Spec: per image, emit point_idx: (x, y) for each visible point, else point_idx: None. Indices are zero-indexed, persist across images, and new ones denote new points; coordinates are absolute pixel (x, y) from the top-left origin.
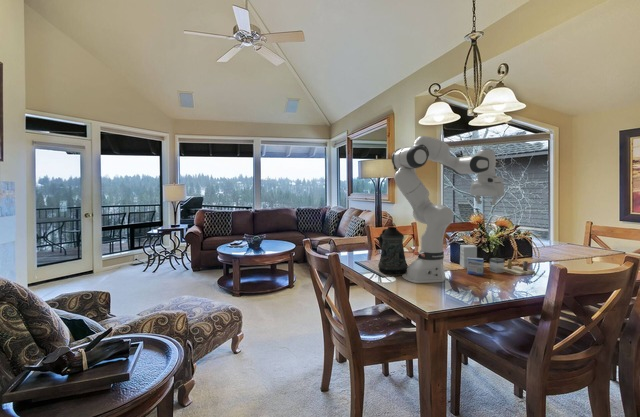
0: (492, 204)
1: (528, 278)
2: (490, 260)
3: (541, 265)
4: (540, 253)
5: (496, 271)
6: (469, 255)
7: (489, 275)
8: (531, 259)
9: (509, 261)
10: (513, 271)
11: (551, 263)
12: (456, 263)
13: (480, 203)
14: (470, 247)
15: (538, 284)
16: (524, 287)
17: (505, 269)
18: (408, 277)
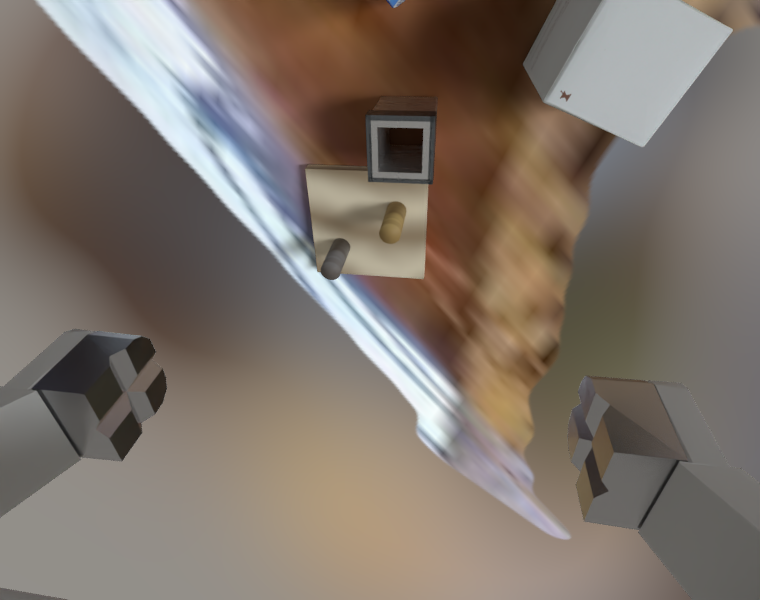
0: (72, 331)
1: (256, 168)
2: (425, 112)
3: (410, 386)
4: (546, 519)
5: (383, 98)
6: (568, 20)
7: (357, 3)
8: (499, 433)
9: (384, 222)
10: (341, 178)
11: (417, 432)
12: None
13: (581, 418)
14: (578, 39)
15: (163, 123)
16: (118, 2)
17: None
18: None
